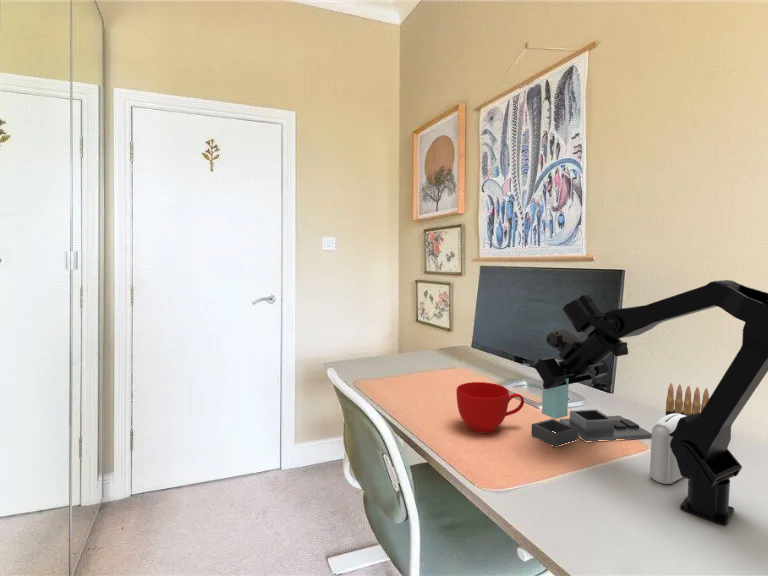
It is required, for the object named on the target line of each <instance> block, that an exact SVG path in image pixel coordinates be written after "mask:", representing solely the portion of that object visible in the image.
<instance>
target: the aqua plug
mask: <svg viewBox="0 0 768 576" xmlns="http://www.w3.org/2000/svg"><path fill="white" fill-rule="evenodd" d="M554 359H555V360H556V362H557V363H558V362H560V361H562V359H561V360H560V359H557V358H554ZM558 365H559V364H558ZM568 380H569V378H568V379H565V381H566V383H567V385H563V386H558V387H554V388H549V389H544V387H543V386H542V395H541V396H542V399H541V403H542V405H541V414H542V415H545V416H547V417H550V418H551V419H555V420H557V419H563V418H566V417H568V410H569V409H568V407H569V406H568V405H569V403H568V402H569V384H568ZM543 383H544V382H543V381H542V384H543Z"/></svg>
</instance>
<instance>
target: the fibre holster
mask: <svg viewBox="0 0 768 576" xmlns="http://www.w3.org/2000/svg"><path fill="white" fill-rule="evenodd" d="M552 431H554V432H556V433H554V432H552ZM531 435H532V436H534V437H536V438H538V439H540V440H539V441H541V440H542V441H541V442H543V441H544V442H543V443H545V442H546V443H545V444H547V443H548V444H547V445H549V444H550V445H549V446H551V445H553V446H554V447H553V446H552V447H553V448H555V447H556V446H559V445H562V444H565V443H568V442H572V441H575V440H577V441H578V436H577V429H576V428H574V427H571V426H569V425H567V424H564V423H562V422H560V421H559V420H557V419H554V418H550V419H545V420H542V421H539V422H534V423H531ZM531 435H530V436H531ZM532 436H531V437H532ZM534 437H533V438H534ZM536 438H535V439H536ZM538 439H537V440H538ZM559 447H560V446H559ZM556 448H557V447H556Z"/></svg>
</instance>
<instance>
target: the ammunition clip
mask: <svg viewBox="0 0 768 576" xmlns="http://www.w3.org/2000/svg"><path fill="white" fill-rule="evenodd" d="M676 388H677V389H676V394H674V391H675V390H674V385H673V383H672V382H671V383H670V384H669V385H668V389H667V395H666V400H665V401H666V403H665V415H664V416H666V415H669V414H674V413H678V414H681V415H686V416H688V415H692V414H695V413H698V412H699V413H701V411H702V410H703V408H704V406H705V405H706V403H707V402H708V400H709V398H710V394H709V389H708V388H707V387H705V389H704V390H703V394H702V402H701V392H700V388H699V387H698V386H696V387H695V389H694V394H693V400H692V391H691V387H690V385H687V386H686V389H685V394H684V400H683V389H682V385H681V384H679V385H678V386H677V387H676ZM674 395H675V396H674ZM674 397H675V398H674ZM692 401H693V402H692Z"/></svg>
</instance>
